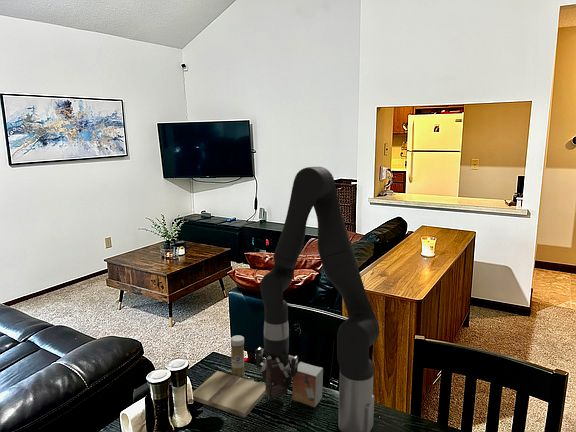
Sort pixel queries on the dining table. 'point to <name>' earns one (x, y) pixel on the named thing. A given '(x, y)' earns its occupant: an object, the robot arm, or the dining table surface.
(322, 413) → the dining table surface
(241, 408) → the plywood panel
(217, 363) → the dining table surface
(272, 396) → the box
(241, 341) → the sprinkles bottle
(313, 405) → the small box
